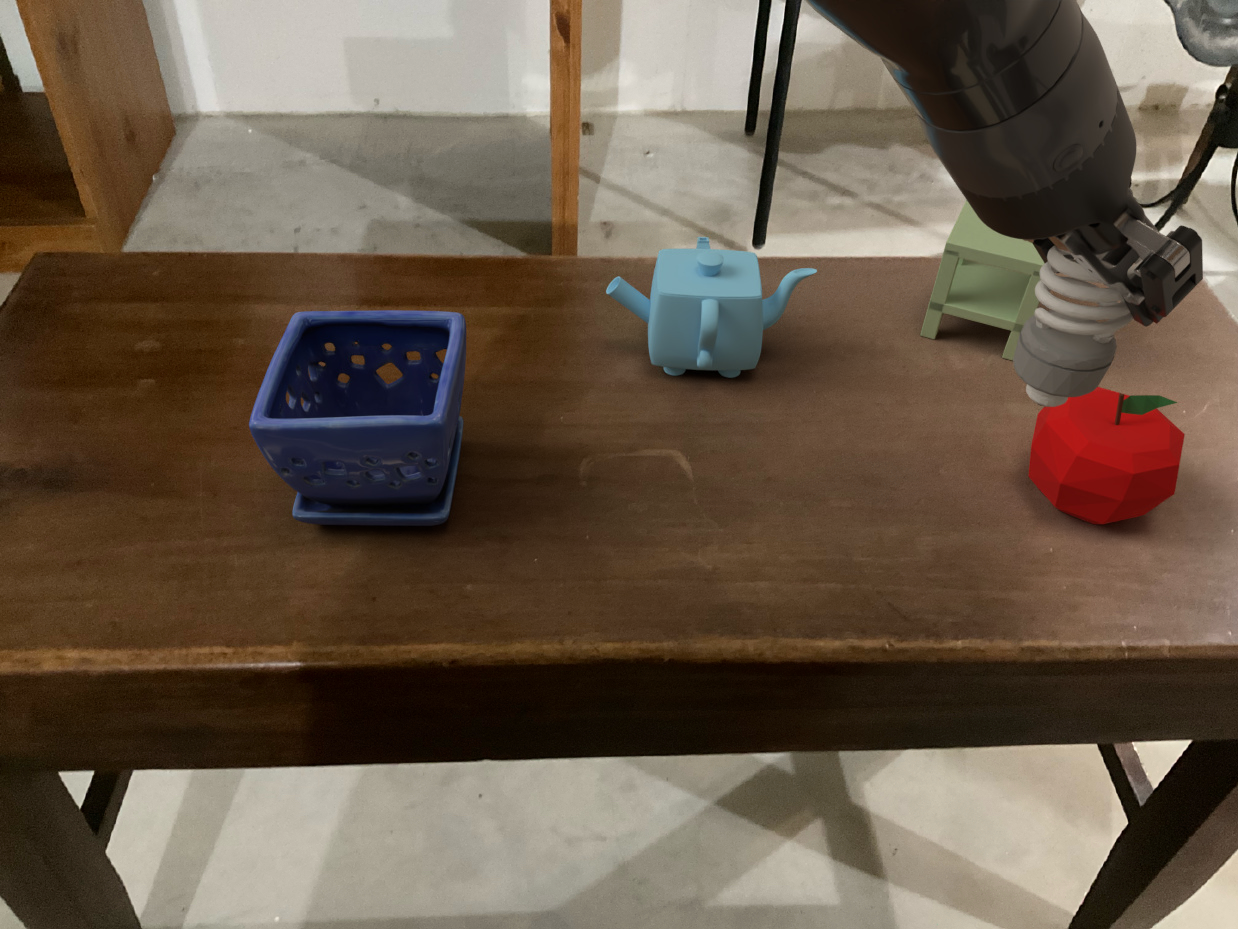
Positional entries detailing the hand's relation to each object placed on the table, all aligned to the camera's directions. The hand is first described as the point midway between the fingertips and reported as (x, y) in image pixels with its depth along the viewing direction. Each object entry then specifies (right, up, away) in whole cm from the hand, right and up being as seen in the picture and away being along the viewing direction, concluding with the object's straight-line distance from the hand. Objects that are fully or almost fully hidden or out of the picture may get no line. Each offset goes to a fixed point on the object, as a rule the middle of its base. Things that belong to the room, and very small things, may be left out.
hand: (1109, 283), depth 55 cm
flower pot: (-46, -12, +20) cm, 52 cm away
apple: (+8, -13, +20) cm, 26 cm away
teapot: (-20, 0, +34) cm, 39 cm away
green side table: (+6, +3, +37) cm, 38 cm away
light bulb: (-2, -7, +5) cm, 9 cm away
